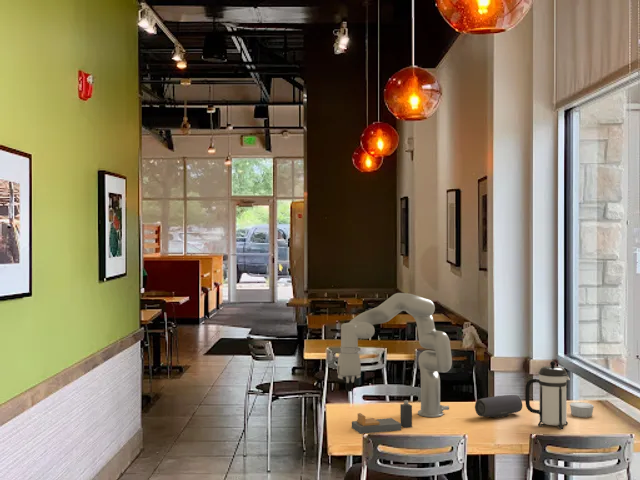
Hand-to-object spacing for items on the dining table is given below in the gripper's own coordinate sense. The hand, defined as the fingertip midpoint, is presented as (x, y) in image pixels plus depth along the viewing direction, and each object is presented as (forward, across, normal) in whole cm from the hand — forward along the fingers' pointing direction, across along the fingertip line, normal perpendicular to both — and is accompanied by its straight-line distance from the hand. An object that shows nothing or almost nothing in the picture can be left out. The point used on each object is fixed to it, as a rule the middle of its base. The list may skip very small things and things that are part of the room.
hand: (349, 391), depth 324 cm
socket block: (+18, -13, 0) cm, 23 cm away
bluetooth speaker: (+18, -79, -3) cm, 81 cm away
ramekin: (+18, -119, +8) cm, 121 cm away
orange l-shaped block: (+15, -9, 0) cm, 18 cm away
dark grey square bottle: (+18, -28, 0) cm, 34 cm away
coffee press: (+18, -92, +20) cm, 96 cm away
